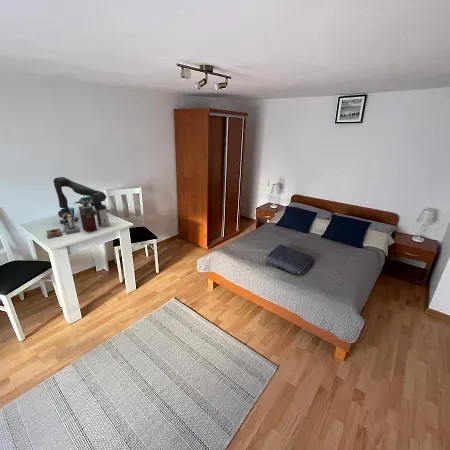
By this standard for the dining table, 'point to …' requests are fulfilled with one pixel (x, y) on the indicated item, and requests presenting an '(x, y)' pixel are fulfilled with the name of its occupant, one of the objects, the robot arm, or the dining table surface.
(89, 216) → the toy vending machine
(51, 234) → the walnut rack
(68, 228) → the socket block
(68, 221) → the steel peg
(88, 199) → the power tool
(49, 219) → the dining table surface
